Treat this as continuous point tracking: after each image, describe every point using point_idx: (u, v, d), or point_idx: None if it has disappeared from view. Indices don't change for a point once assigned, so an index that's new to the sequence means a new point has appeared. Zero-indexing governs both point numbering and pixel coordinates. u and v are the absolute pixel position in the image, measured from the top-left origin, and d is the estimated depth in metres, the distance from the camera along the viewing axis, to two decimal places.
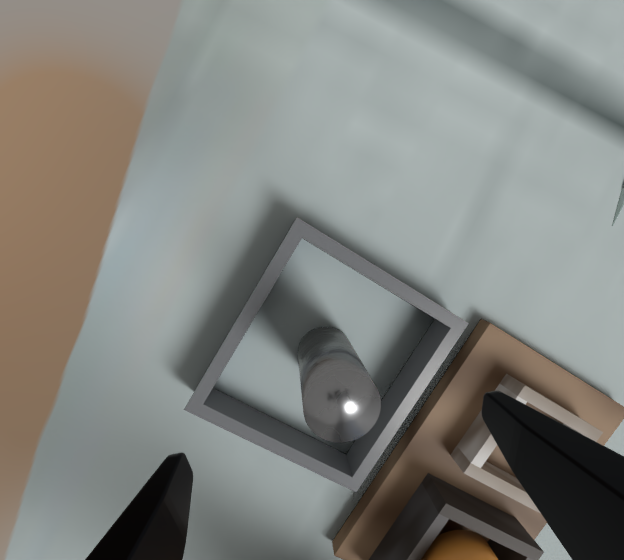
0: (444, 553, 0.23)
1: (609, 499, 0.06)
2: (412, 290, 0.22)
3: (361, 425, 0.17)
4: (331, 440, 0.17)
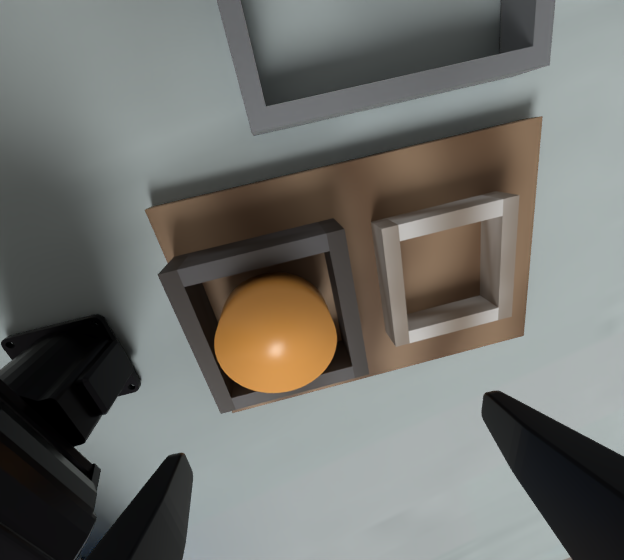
0: (290, 282, 0.17)
1: (609, 499, 0.06)
2: None
3: None
4: None
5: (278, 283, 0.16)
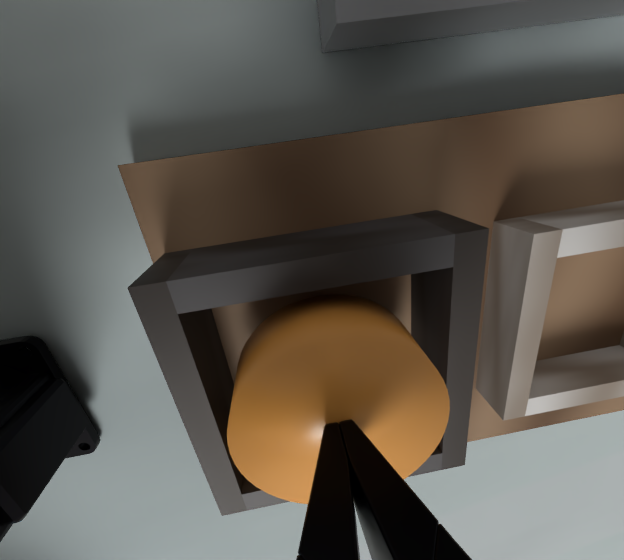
0: (375, 317, 0.09)
1: (386, 549, 0.06)
2: None
3: None
4: None
5: (357, 320, 0.08)
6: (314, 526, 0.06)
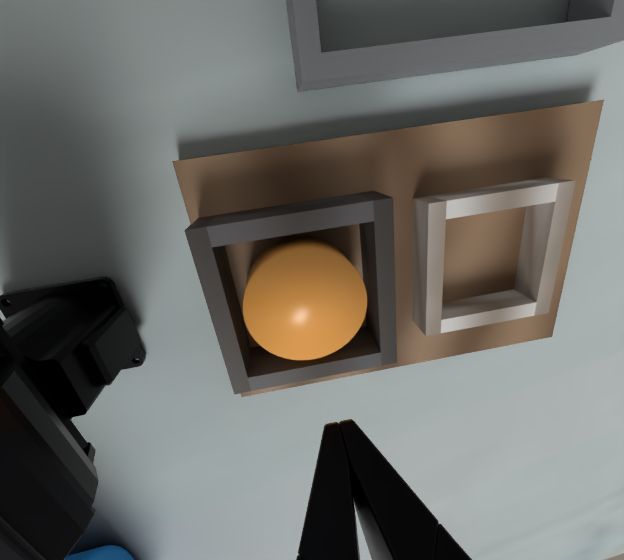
0: (324, 245, 0.16)
1: (386, 549, 0.06)
2: None
3: None
4: None
5: (313, 244, 0.16)
6: (314, 526, 0.06)
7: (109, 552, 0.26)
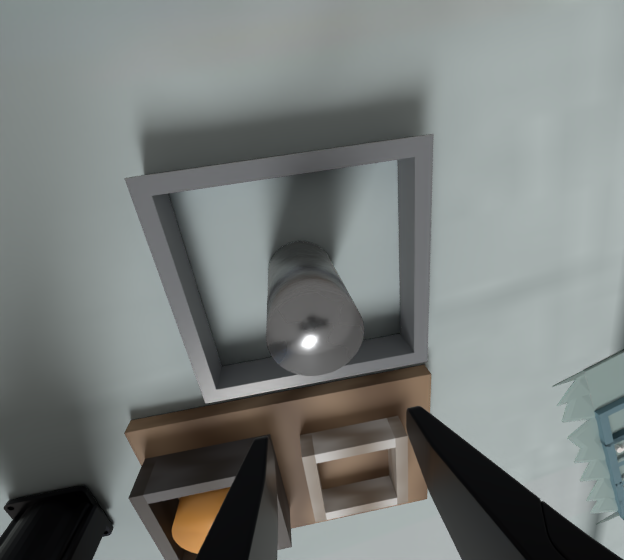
0: None
1: (490, 525, 0.06)
2: (427, 298, 0.20)
3: (310, 366, 0.14)
4: (271, 354, 0.14)
5: (220, 490, 0.23)
6: (210, 548, 0.06)
7: None
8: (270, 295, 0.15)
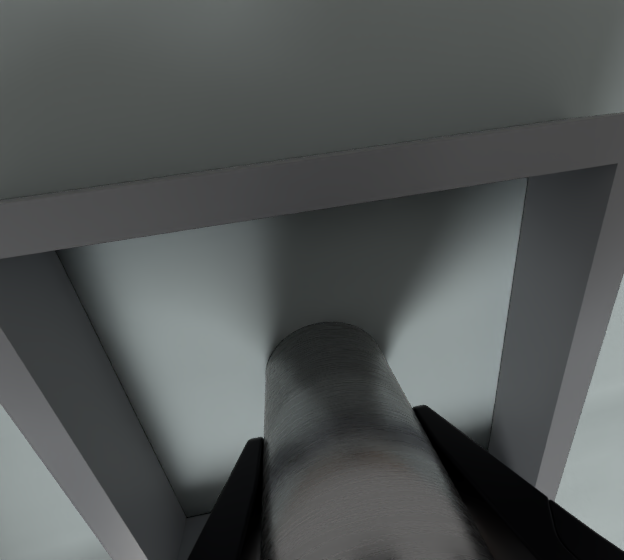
0: None
1: (499, 524, 0.06)
2: (571, 434, 0.10)
3: None
4: None
5: None
6: (201, 550, 0.06)
7: None
8: (268, 537, 0.06)
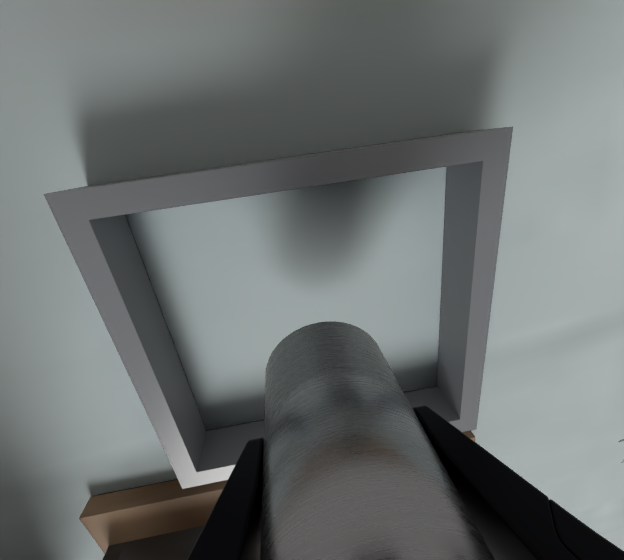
0: None
1: (498, 524, 0.06)
2: (483, 353, 0.15)
3: None
4: None
5: None
6: (201, 550, 0.06)
7: None
8: (268, 536, 0.06)
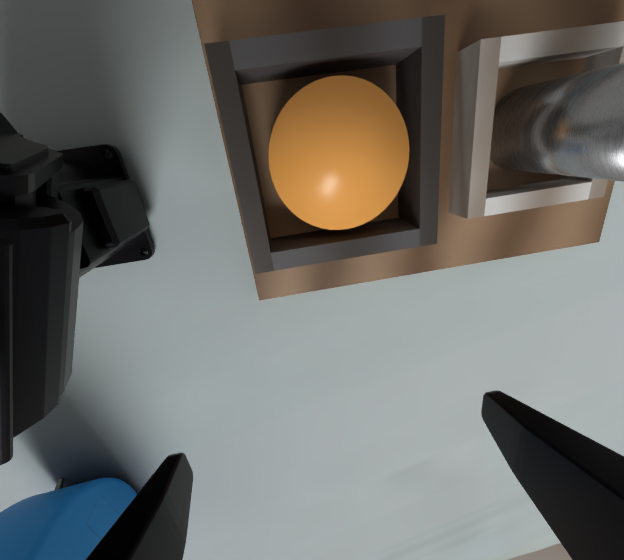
0: None
1: (609, 499, 0.06)
2: None
3: None
4: None
5: None
6: None
7: (113, 484, 0.24)
8: (584, 94, 0.12)
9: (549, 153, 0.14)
